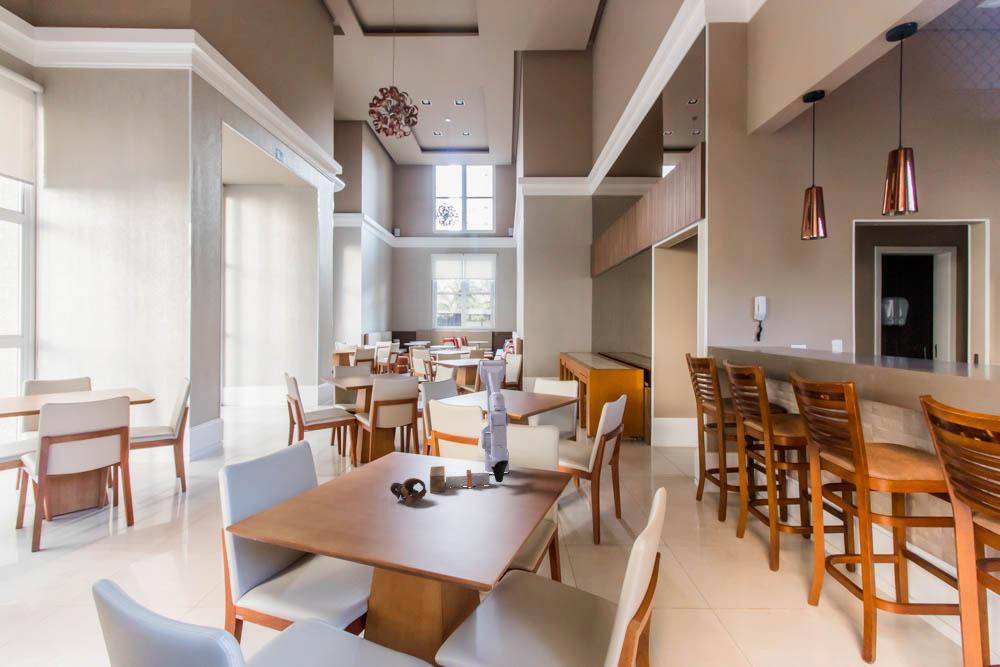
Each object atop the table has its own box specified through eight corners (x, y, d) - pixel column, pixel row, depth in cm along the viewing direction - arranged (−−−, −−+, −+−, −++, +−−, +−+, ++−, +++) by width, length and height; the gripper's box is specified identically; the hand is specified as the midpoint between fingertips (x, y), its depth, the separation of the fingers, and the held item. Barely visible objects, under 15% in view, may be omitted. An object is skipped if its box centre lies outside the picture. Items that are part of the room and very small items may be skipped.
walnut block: (444, 481, 176) (444, 466, 176) (444, 492, 164) (444, 475, 164) (430, 482, 175) (430, 466, 175) (430, 493, 163) (429, 476, 163)
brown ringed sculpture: (426, 496, 162) (430, 478, 158) (420, 518, 153) (424, 499, 149) (391, 488, 161) (395, 470, 157) (383, 509, 152) (387, 491, 149)
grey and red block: (488, 482, 174) (488, 469, 174) (490, 487, 169) (489, 473, 169) (445, 484, 172) (445, 470, 173) (446, 489, 167) (446, 475, 167)
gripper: (496, 439, 180) (496, 475, 180) (480, 447, 167) (480, 486, 167) (513, 440, 178) (514, 476, 178) (498, 449, 164) (499, 488, 164)
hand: (499, 481), depth 172 cm, fingers closed
